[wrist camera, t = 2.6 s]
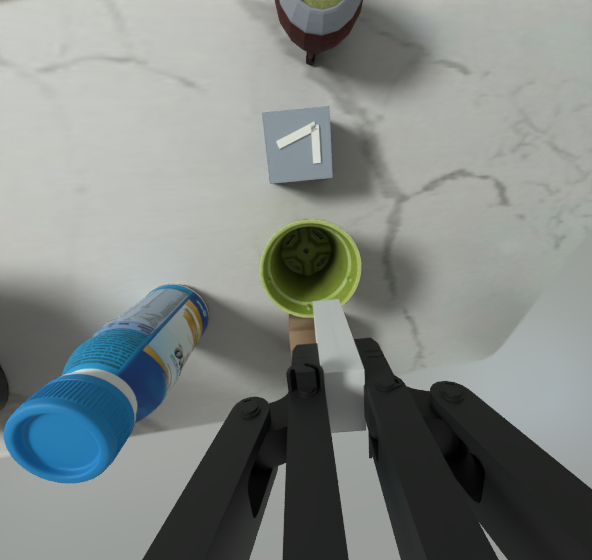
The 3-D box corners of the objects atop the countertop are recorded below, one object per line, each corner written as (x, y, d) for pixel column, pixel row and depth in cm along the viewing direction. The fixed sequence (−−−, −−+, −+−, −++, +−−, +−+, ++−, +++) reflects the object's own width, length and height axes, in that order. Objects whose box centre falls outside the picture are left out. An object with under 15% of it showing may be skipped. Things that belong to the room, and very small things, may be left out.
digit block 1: (293, 353, 39) (293, 377, 34) (289, 313, 37) (288, 332, 32) (337, 349, 39) (343, 373, 34) (335, 309, 37) (341, 327, 32)
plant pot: (361, 240, 34) (383, 258, 26) (314, 301, 37) (321, 334, 28) (297, 193, 32) (298, 197, 24) (252, 260, 35) (239, 283, 27)
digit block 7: (273, 183, 32) (269, 183, 27) (266, 123, 30) (261, 112, 25) (326, 178, 32) (332, 177, 27) (323, 118, 30) (329, 105, 25)
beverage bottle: (169, 267, 35) (23, 365, 16) (224, 310, 37) (151, 443, 18) (131, 314, 37) (-39, 451, 18) (185, 352, 39) (82, 514, 20)
